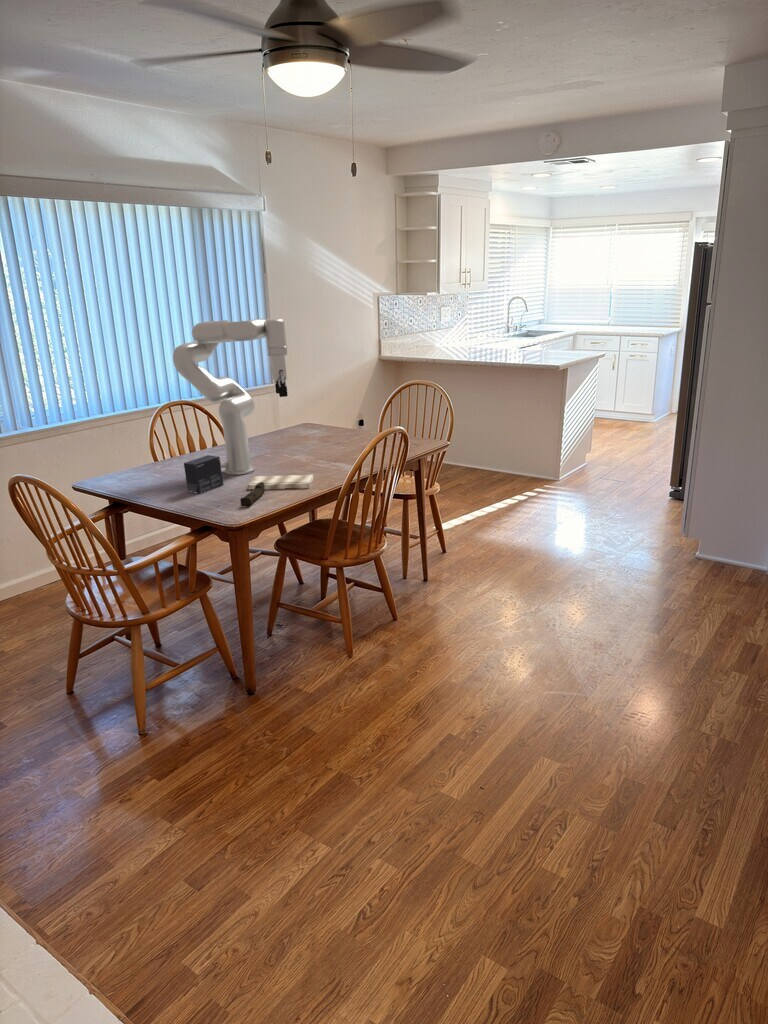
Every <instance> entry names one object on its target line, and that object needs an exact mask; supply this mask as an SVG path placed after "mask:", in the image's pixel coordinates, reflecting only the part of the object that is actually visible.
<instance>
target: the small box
mask: <svg viewBox="0 0 768 1024" xmlns="http://www.w3.org/2000/svg"><path fill="white" fill-rule="evenodd" d="M220 462H221V459H220V456H216V455H209V454H208V455H205V456H201V457H198V458H194V459H192V460H189V461H186V462H184V463H183V468H184V473H185V480H186V485H187V486H186V487H187V492H188V491H192V492H197V493H196V494H198V493H201V492H203V493H205V492H204V491H206V492H208V491H207V490H209V489H211V490H213V489H212V488H214V489H216V488H215V487H217V488H219V487H222V486H223V485H224V480H223V471H222V468H221V465H220ZM221 485H222V486H221ZM218 486H219V487H218ZM209 491H210V490H209ZM192 492H191V493H192ZM201 494H202V493H201Z"/></svg>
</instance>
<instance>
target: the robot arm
mask: <svg viewBox="0 0 768 1024" xmlns="http://www.w3.org/2000/svg"><path fill="white" fill-rule="evenodd" d="M285 327H286V325H285V321H284V320H283V319H282V318H273V319H272V318H271V319H267V318H254V319H250V320H241V321H240V320H239V321H229V320H226V319H224V320H223V319H222V320H208V321H201V322H198V323H195V324H194V326H193V327H192V330H191V335H192V338H193V339H194V341H190V342H185V343H182V344H180V345H178V346H177V347H176V348H175V349H174V350H173V354H172V362H173V364H174V367H175V370H176V371H177V372H178V373H179V374H180V376H182V377H183V379H185V380H186V381H187V382H188V383H189V384H191V385H192V386H193V387H194V388H195V389H196V390H197V391H198V393H200V394H201V395H202V396H203V398H205V399H206V400H208V402H210V403H213V404H214V403H215V404H216V403H220V404H219V406H218V415H219V417H220V421H221V424H222V425H221V426H222V430H223V437H224V445H225V454H226V461H224V462H223V461H222V462H221V461H220V465H221V469H223V468H225V469H224V474H227V475H230V476H231V475H233V476H237V475H239V476H240V475H245V474H250V473H252V472H254V471H255V466H254V465H252V464H251V457H250V449H249V447H250V446H249V439H248V431H247V426H246V424H245V422H244V419H243V418H245V417H248V416H250V415H251V414H253V413H254V411H255V407H256V406H255V405H256V404H255V401H254V400H253V397H252V396H251V395H249V393H247V391H245V390H244V389H243V388H242V387H241V386H240V385H239V384H238V383H237V382H236V381H235V380H233V379H232V378H230V377H228V376H227V377H226V376H221V377H218V378H217V377H214V376H213V375H212V374H211V373H210V372H209V371H208V370H206V368H204V367H202V366H200V365H199V364H197V363H201V362H204V361H206V360H208V359H209V358H210V357H211V356H212V355H213V352H214V351H215V350H216V349H217V347H218V345H219V344H220V343H232V342H248V341H254V340H261V339H264V338H266V347H267V355H268V357H270V369H271V380H273V381H274V384H275V385H274V386H275V394H278V396H279V397H280V398H283V397H284V398H285V397H288V386H287V378H288V377H287V375H288V374H287V366H286V364H287V363H286V357H285V356H287V355H288V348H287V347H288V346H287V336H286V328H285Z"/></svg>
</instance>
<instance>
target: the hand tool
mask: <svg viewBox="0 0 768 1024" xmlns="http://www.w3.org/2000/svg"><path fill="white" fill-rule="evenodd" d="M264 492H266V489H265V487H264V483H263V482H260V483H259V484H257V485H256V486H255V489H254V490H250V492H249V493H247V494H246V495H245V496H243V497H241V498H240V506H241V507H242V506H250V507H251V506H252V504H253V503H254V502H255V501H256V500H257V499H259V498H260V497H263V496H264V495H265V493H264ZM263 494H264V495H263ZM262 495H263V496H262Z"/></svg>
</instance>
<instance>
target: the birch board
mask: <svg viewBox="0 0 768 1024" xmlns="http://www.w3.org/2000/svg"><path fill="white" fill-rule="evenodd" d="M312 481H313V482H314V474H293V475H287V474H286V475H266V476H265V475H262V476H260V475H257V476H254V477H253V478H252V479H251V480H250V482H249V483H248V484H247V489H249V490H248V491H251V490H250V489H255V486H256V485H257V484H259V483H260V482H263V483H264V487H265V490H286V489H285V488H297V489H310V488H311V486H312V484H313V482H312ZM311 483H312V484H311ZM310 485H311V486H310Z"/></svg>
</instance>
